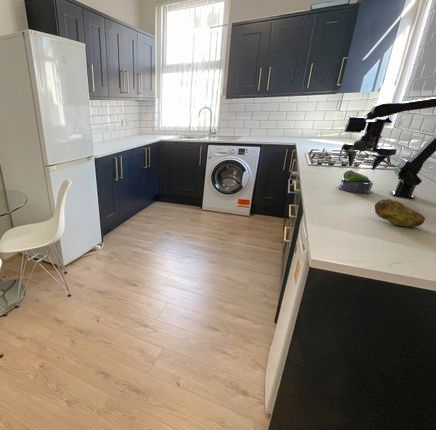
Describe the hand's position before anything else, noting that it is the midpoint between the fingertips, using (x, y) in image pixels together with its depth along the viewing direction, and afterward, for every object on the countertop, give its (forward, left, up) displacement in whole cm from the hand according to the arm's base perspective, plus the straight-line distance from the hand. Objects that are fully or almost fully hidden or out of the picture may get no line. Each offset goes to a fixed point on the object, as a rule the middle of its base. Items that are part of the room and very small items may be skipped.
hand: (361, 167), depth 130 cm
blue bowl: (0, 0, -11) cm, 11 cm away
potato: (+42, +13, -11) cm, 45 cm away
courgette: (-4, +2, -6) cm, 8 cm away
